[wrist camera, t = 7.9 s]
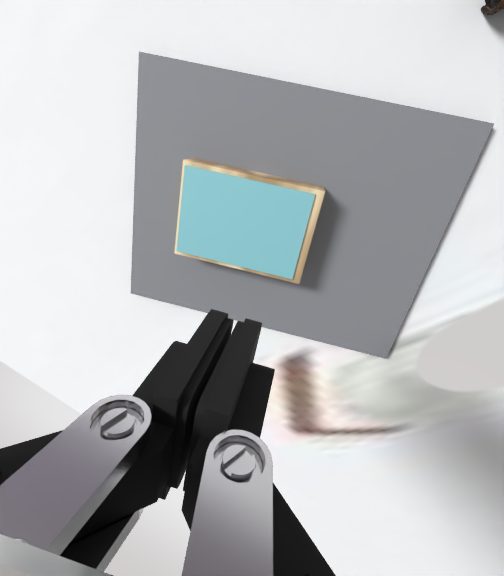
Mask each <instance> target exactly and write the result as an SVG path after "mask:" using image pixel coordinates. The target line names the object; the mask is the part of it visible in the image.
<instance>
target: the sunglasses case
mask: <svg viewBox="0 0 504 576" xmlns="http://www.w3.org/2000/svg"><path fill="white" fill-rule="evenodd" d="M485 2H486V5H485V6H483V7H482V8H481V11H482V12H483V13H485V14H487V15H492V14H494V13H496V12H498V11H500V10H501V9H504V0H485Z"/></svg>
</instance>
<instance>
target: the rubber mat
mask: <svg viewBox="0 0 504 576" xmlns="http://www.w3.org/2000/svg"><path fill="white" fill-rule="evenodd" d="M493 125H494V124H493V123H488V122H483V121H478V120H473V119H468V118H464V117H459V116H454V115H449V114H444V113H439V112H434V111H429V110H424V109H419V108H414V107H409V106H404V105H399V104H394V103H390V102H385V101H380V100H375V99H370V98H365V97H360V96H355V95H350V94H345V93H340V92H335V91H330V90H325V89H321V88H316V87H311V86H306V85H301V84H296V83H291V82H286V81H281V80H276V79H271V78H266V77H261V76H256V75H251V74H247V73H242V72H237V71H232V70H227V69H222V68H217V67H212V66H207V65H202V64H197V63H192V62H187V61H182V60H178V59H173V58H168V57H163V56H158V55H153V54H148V53H143V52H139V69H138V99H137V128H136V157H135V186H134V215H133V245H132V274H131V293H132V294H136V295H140V296H144V297H148V298H152V299H156V300H159V301H163V302H167V303H171V304H175V305H179V306H183V307H187V308H191V309H195V310H198V311H202V312H206V313H209V311H210V310H211V309H214V310H218V311H221V312H225V313H228V318H230V319H234V320H238V321H241V322H244V321H245V319H246V318H247V319H250V320H254V321H258V322H261V323H262V326H261V327H265V328H269V329H273V330H277V331H281V332H284V333H288V334H292V335H296V336H300V337H304V338H308V339H312V340H316V341H320V342H324V343H327V344H331V345H335V346H339V347H343V348H347V349H351V350H355V351H359V352H363V353H367V354H370V355H374V356H378V357H382V358H387V355H388V353H389V351H390V349H391V347H392V345H393V342H394V340H395V338H396V336H397V334H398V332H399V329H400V327H401V325H402V323H403V321H404V318H405V316H406V314H407V312H408V310H409V308H410V305H411V303H412V301H413V299H414V297H415V295H416V292H417V290H418V288H419V286H420V284H421V282H422V279H423V277H424V275H425V273H426V271H427V269H428V266H429V264H430V262H431V260H432V258H433V255H434V253H435V251H436V249H437V247H438V245H439V242H440V240H441V238H442V236H443V234H444V232H445V229H446V227H447V225H448V223H449V221H450V219H451V216H452V214H453V212H454V210H455V208H456V206H457V203H458V201H459V199H460V197H461V195H462V192H463V190H464V188H465V186H466V184H467V182H468V179H469V177H470V175H471V173H472V171H473V169H474V166H475V164H476V162H477V160H478V158H479V156H480V153H481V151H482V149H483V147H484V145H485V143H486V140H487V138H488V136H489V134H490V132H491V129H492V127H493ZM191 158H197V159H202V160H206V161H210V162H215V163H219V164H224V165H228V166H233V167H237V168H242V169H246V170H251V171H255V172H260V173H264V174H269V175H273V176H278V177H282V178H287V179H291V180H296V181H300V182H305V183H309V184H313V185H318V186H322V187H324V188H325V194H324V198H323V201H322V205H321V208H320V212H319V216H318V219H317V223H316V226H315V230H314V233H313V237H312V240H311V244H310V247H309V251H308V255H307V258H306V262H305V265H304V269H303V272H302V276H301V279H300V283H299V284H297V283H293V282H289V281H285V280H281V279H277V278H272V277H268V276H264V275H260V274H256V273H252V272H248V271H244V270H240V269H236V268H232V267H227V266H223V265H219V264H215V263H211V262H207V261H203V260H199V259H195V258H191V257H187V256H183V255H178V254H174V252H175V241H176V230H177V220H178V209H179V198H180V188H181V177H182V166H183V160H185V159H191Z"/></svg>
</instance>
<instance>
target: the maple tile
mask: <svg viewBox="0 0 504 576" xmlns="http://www.w3.org/2000/svg"><path fill="white" fill-rule="evenodd" d="M324 194H325V188H324V187H322V186H318V185H313V184H309V183H305V182H300V181H296V180H291V179H287V178H282V177H278V176H273V175H269V174H264V173H260V172H255V171H251V170H246V169H242V168H237V167H233V166H228V165H224V164H219V163H215V162H210V161H206V160H202V159H197V158H191V159H185V160H183V166H182V177H181V188H180V198H179V209H178V220H177V230H176V241H175V252H174V254H178V255H183V256H187V257H191V258H195V259H199V260H203V261H207V262H211V263H215V264H219V265H223V266H227V267H232V268H236V269H240V270H244V271H248V272H252V273H256V274H260V275H264V276H268V277H272V278H277V279H281V280H285V281H289V282H293V283H297V284H299V283H300V279H301V276H302V272H303V269H304V265H305V262H306V258H307V255H308V251H309V247H310V244H311V240H312V237H313V233H314V230H315V226H316V223H317V219H318V216H319V212H320V208H321V205H322V201H323V198H324Z"/></svg>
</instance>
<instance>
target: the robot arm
mask: <svg viewBox="0 0 504 576" xmlns="http://www.w3.org/2000/svg"><path fill="white" fill-rule="evenodd" d="M232 326H233V319H230V318H228V313H225V312H221V311H218V310H214V309H211V310H210V311H209V313H208V314H207V316H206V317H205V319H204V320H203V322H202V323H201V325H200V326H199V327H198V329H197V330H196V332H195V333H194V335H193V336H192V338H191V339H190V341H189V342H188V344H185V343H181V342H178V341H175V342H173V344H172V345H171V346H170V347H169V349H168V350H167V351H166V352H165V354H164V355H163V356H162V358H161V359H160V360H159V362H158V363H157V364H156V366H155V367H154V368H153V370H152V371H151V372H150V373H149V375H148V376H147V377H146V379H145V380H144V381H143V383H142V384H141V385H140V387H139V388H138V389H137V391H136V392H135V393H134V394H133V396H131V395H116V396H110V397H107V398H105V399H102V400H100V401H98V402H97V403H95V404H94V405H92V406H91V407H90V408H89V409H88V410H86V411H85V412H84V413H83V414H82V415H81V416H80V417H78V418H77V419H76V420H75V421H74V422H73V423H71V424H70V425H69V426H68V427H67V428H66V429H65V430H63V431H59V432H56V433H52V434H49V435H46V436H42V437H39V438H35V439H32V440H29V441H25V442H22V443H19V444H15V445H12V446H8V447H5V448H2V449H0V576H113V575H109V574H107V573H104V570H105V569H106V568H107V566H108V565H109V563H110V562H111V560H112V558H113V557H114V556H115V554H116V553H117V551H118V550H119V548H120V546H121V545H122V543H123V542H124V540H125V539H126V538H127V536H128V535H129V533H130V531H131V530H132V528H133V527H134V525H135V524H136V522H137V521H138V519H139V518H140V516H141V513H142V511H143V508H144V507H146V506H148V505H151V504H153V503H155V502H157V500H158V498H161V499H164V500H165V499H166V496H167V494H168V492H169V490H170V487H174V488H178V486H179V485H180V482H181V480H182V478H183V475H184V473H185V471H186V474H185V481H184V487H183V491H185V493H184V499H183V505H182V512H183V514H184V517H185V519H186V521H187V524H188V526H189V529H190V531H191V532H190V537H189V542H188V547H187V552H186V557H185V562H184V567H183V571H182V576H335V574H334V573H333V571H332V570H331V568H330V567H329V565H328V564H327V562H326V561H325V559H324V558H323V556H322V555H321V553H320V552H319V550H318V549H317V547H316V546H315V544H314V543H313V541H312V540H311V538H310V537H309V535H308V534H307V532H306V531H305V529H304V528H303V526H302V525H301V523H300V522H299V520H298V519H297V518H296V516H295V515H294V513H293V512H292V510H291V509H290V507H289V506H288V504H287V503H286V501H285V500H284V498H283V497H282V495H281V494H280V492H279V491H278V489H277V488H276V486H275V485H274V483H273V463H272V457H271V453H270V451H269V449H268V447H267V445H266V444H265V443H264V442H263V441H262V440H261V439H260V435H261V430H262V426H263V421H264V417H265V412H266V408H267V403H268V399H269V394H270V390H271V385H272V380H273V376H274V371H275V369H272V368H269V367H265V366H262V365H258V364H255V363H253V360H254V356H255V351H256V347H257V343H258V339H259V335H260V331H261V326H262V323H261V322H258V321H254V320H250V319H247V318H246V319H245V321H244V322H241V321H238V322H237V324H236V326H235V328H234V330H233V332H232V334H231V331H232Z"/></svg>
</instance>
